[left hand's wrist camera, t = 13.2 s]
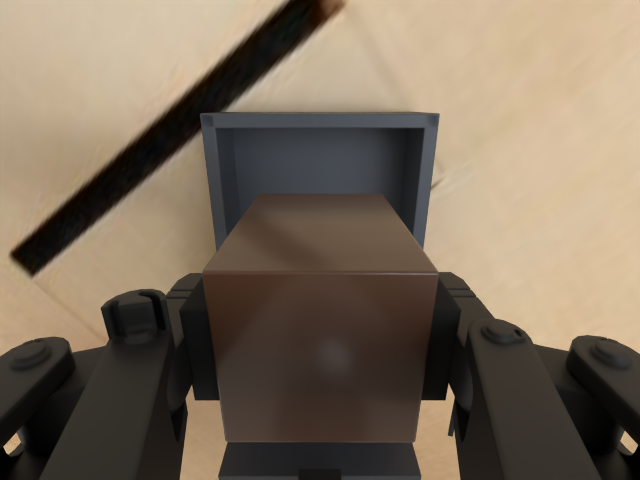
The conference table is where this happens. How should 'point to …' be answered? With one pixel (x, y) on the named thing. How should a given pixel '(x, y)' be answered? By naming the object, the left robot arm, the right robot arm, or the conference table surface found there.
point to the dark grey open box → (319, 178)
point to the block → (320, 321)
